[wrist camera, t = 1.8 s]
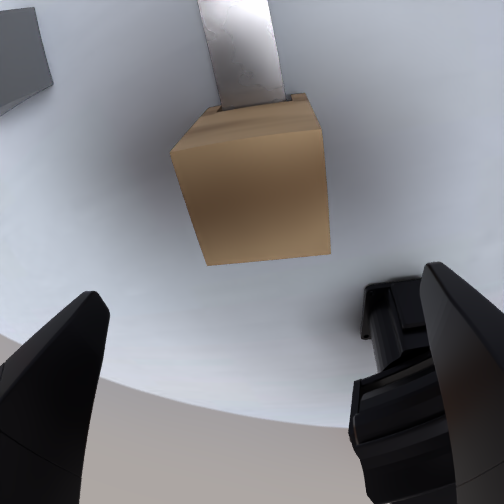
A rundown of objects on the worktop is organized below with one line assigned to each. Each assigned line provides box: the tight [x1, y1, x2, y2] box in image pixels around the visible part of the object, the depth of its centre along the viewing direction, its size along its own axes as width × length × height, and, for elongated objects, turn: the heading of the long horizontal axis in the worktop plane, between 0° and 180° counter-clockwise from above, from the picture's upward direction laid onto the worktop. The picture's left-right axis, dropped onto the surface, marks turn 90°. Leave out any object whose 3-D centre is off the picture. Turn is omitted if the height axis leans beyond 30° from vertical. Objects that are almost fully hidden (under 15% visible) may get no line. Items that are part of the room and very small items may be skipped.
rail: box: [197, 0, 286, 111], centre depth 13 cm, size 17×3×3 cm, turn 10°
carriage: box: [170, 93, 331, 266], centre depth 14 cm, size 5×5×7 cm
